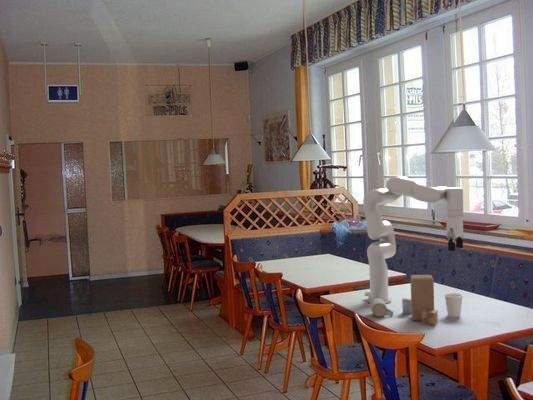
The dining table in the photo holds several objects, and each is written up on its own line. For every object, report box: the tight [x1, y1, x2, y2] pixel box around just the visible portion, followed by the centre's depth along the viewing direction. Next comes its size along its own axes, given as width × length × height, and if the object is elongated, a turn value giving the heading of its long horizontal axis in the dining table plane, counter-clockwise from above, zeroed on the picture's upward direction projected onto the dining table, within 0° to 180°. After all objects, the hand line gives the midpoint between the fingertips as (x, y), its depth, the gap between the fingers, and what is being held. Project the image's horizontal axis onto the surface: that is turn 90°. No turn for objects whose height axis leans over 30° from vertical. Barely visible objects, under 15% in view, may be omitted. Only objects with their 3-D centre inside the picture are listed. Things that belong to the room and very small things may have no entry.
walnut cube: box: [421, 309, 439, 327], centre depth 272 cm, size 6×6×6 cm
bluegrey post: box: [401, 297, 412, 316], centre depth 292 cm, size 5×5×7 cm
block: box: [410, 274, 435, 322], centre depth 281 cm, size 10×10×20 cm
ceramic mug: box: [369, 298, 394, 318], centre depth 290 cm, size 11×8×8 cm
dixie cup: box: [444, 292, 463, 318], centre depth 284 cm, size 8×8×10 cm
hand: (455, 249), depth 286 cm, fingers open, 9 cm apart
